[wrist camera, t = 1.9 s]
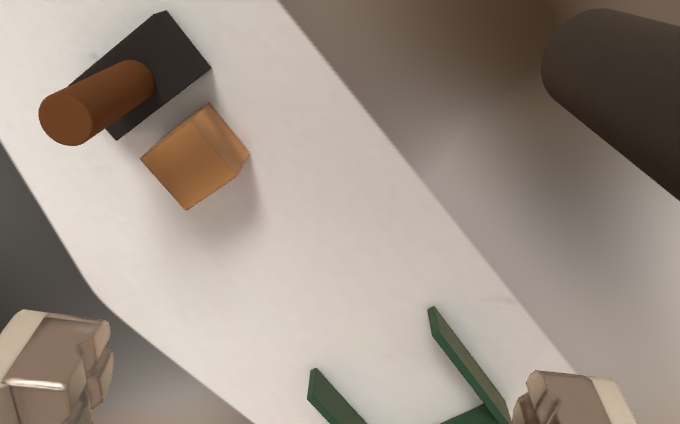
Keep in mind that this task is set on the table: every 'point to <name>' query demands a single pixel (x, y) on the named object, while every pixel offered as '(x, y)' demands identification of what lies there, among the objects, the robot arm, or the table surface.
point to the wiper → (124, 84)
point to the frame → (485, 420)
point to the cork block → (196, 157)
